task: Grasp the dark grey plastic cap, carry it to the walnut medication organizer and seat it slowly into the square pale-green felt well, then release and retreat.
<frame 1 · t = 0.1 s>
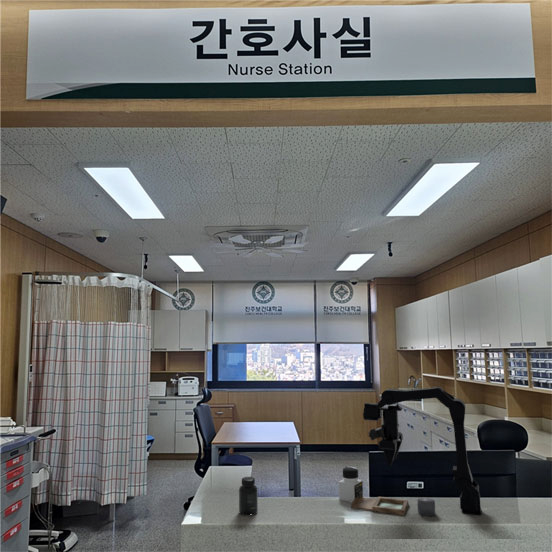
hand: (392, 462, 189), 15 cm above the counter, fingers open, 9 cm apart
cap: (426, 513, 176), on the counter
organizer: (390, 507, 181), on the counter
medicine bottle: (351, 499, 192), on the counter, touching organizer
supplement bottle: (248, 513, 179), on the counter
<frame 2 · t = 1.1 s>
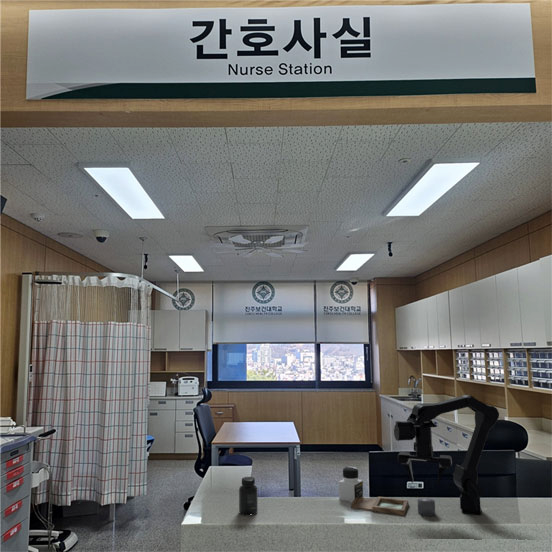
hand: (425, 483, 177), 10 cm above the counter, fingers open, 9 cm apart
nothing on the counter moved.
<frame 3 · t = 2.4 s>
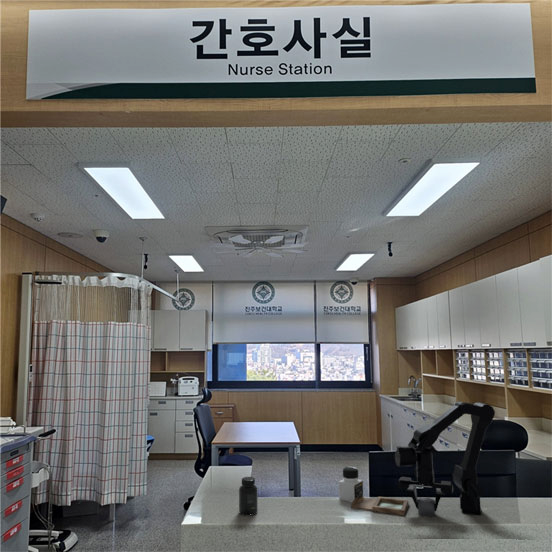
hand: (426, 509, 176), 1 cm above the counter, fingers closed on cap, 6 cm apart
cap: (426, 513, 176), on the counter, touching gripper
everything else where it was.
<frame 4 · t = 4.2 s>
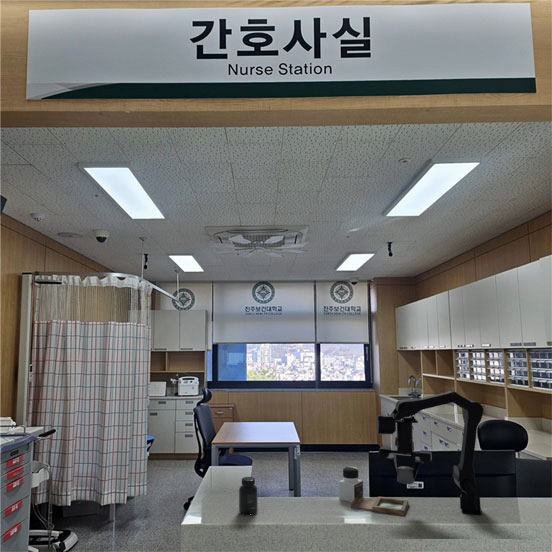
hand: (405, 477, 180), 12 cm above the counter, fingers closed on cap, 6 cm apart
cap: (405, 481, 180), point 10 cm above the counter, touching gripper
everything else where it was.
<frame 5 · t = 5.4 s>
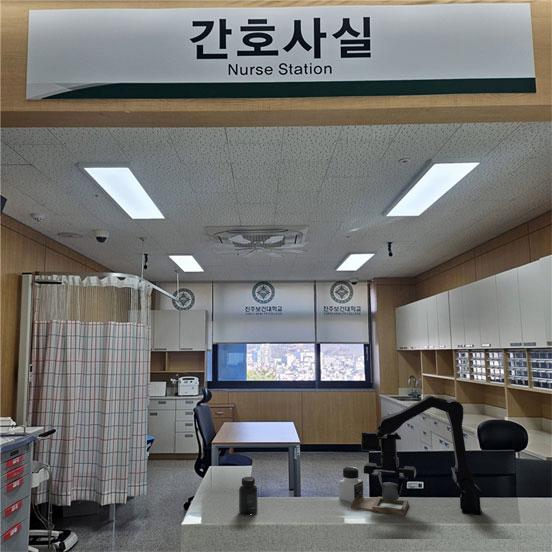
hand: (390, 494, 182), 5 cm above the counter, fingers closed on cap, 6 cm apart
cap: (390, 497, 182), point 4 cm above the counter, touching gripper
everything else where it was.
when the fingers open (3 cm above the counter, at t = 6.3 s): cap drops 1 cm, resting on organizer.
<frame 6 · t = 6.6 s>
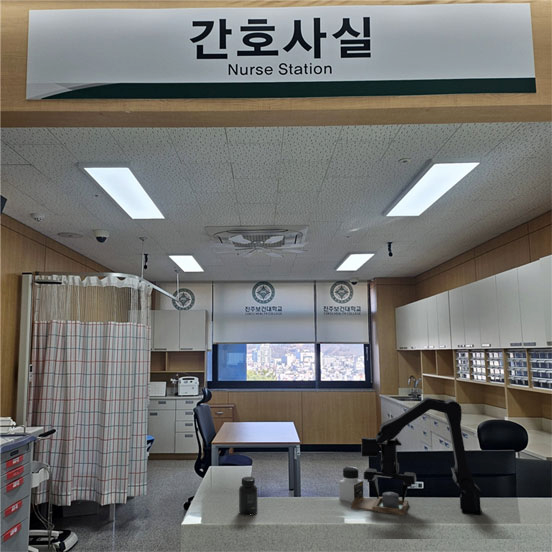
hand: (390, 499, 182), 3 cm above the counter, fingers open, 9 cm apart
cap: (390, 507, 181), resting on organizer
everything else where it was.
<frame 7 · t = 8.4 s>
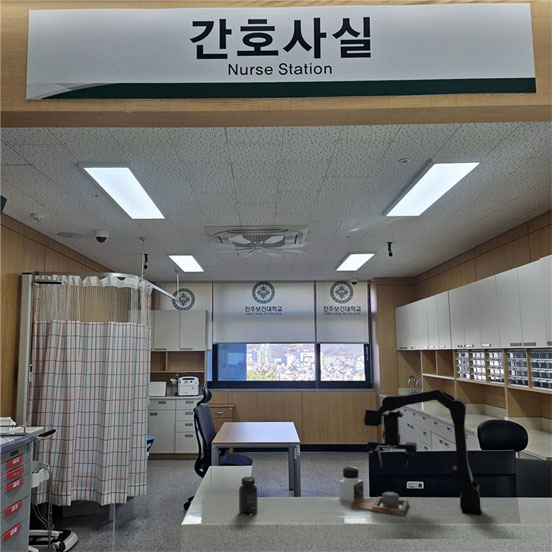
hand: (392, 468, 190), 12 cm above the counter, fingers open, 9 cm apart
nothing on the counter moved.
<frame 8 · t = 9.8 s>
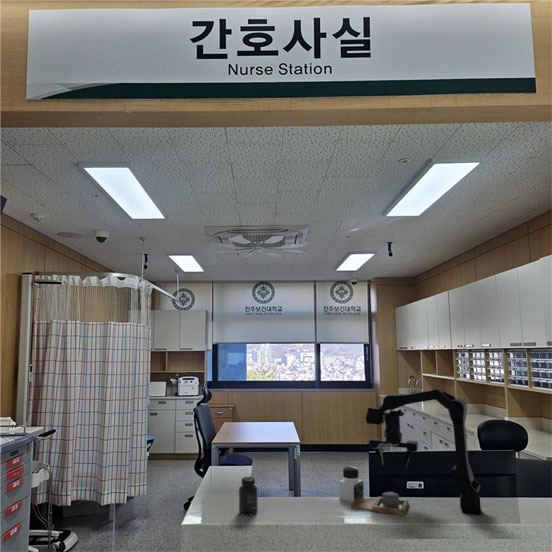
hand: (394, 466, 193), 12 cm above the counter, fingers open, 9 cm apart
nothing on the counter moved.
at the end: cap 0.1 cm from the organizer (horizontally); cap resting on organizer; the gripper is holding nothing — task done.
